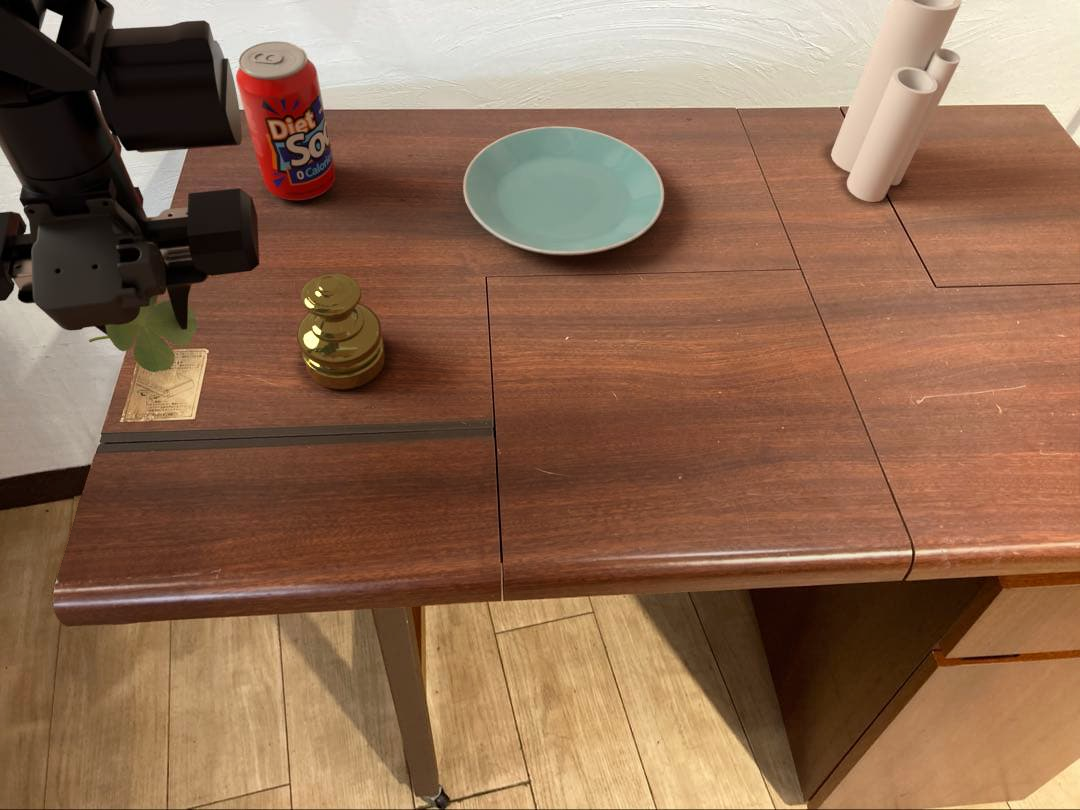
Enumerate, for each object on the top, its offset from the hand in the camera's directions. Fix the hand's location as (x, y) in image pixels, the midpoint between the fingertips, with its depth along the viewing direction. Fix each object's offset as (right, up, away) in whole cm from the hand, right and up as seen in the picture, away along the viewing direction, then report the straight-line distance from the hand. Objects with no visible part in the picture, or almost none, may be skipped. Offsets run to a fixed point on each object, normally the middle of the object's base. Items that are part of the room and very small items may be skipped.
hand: (150, 329), depth 60 cm
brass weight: (+11, -2, +16) cm, 19 cm away
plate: (+31, +17, +31) cm, 47 cm away
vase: (+68, +23, +38) cm, 81 cm away
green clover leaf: (0, -1, +1) cm, 1 cm away
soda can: (+2, +19, +31) cm, 37 cm away
